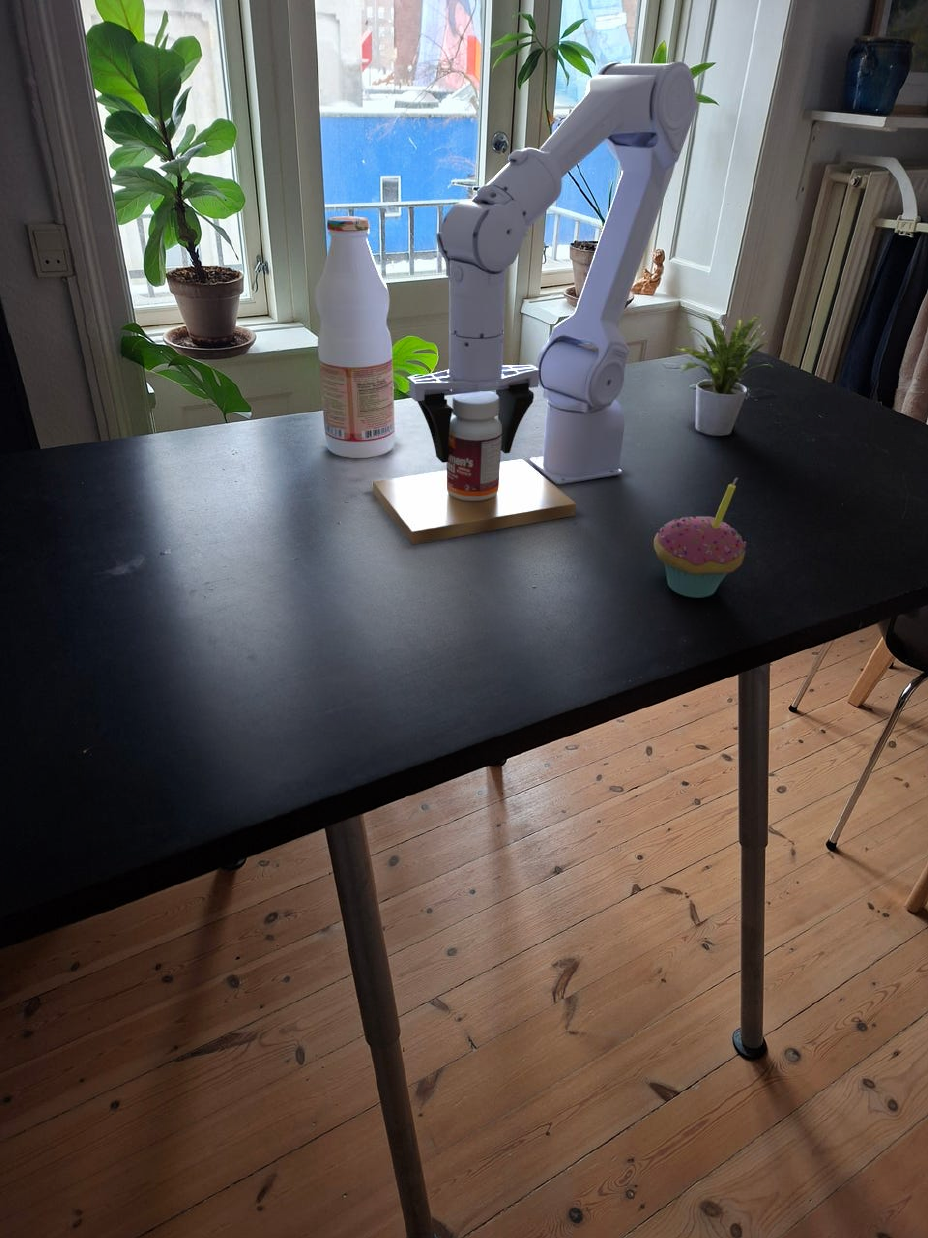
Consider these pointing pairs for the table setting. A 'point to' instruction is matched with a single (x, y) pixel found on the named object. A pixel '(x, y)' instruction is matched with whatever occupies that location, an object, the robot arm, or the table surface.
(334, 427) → the fruit juice
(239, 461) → the table surface
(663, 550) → the cupcake
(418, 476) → the oak board
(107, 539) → the table surface
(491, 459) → the pill bottle
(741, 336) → the house plant
